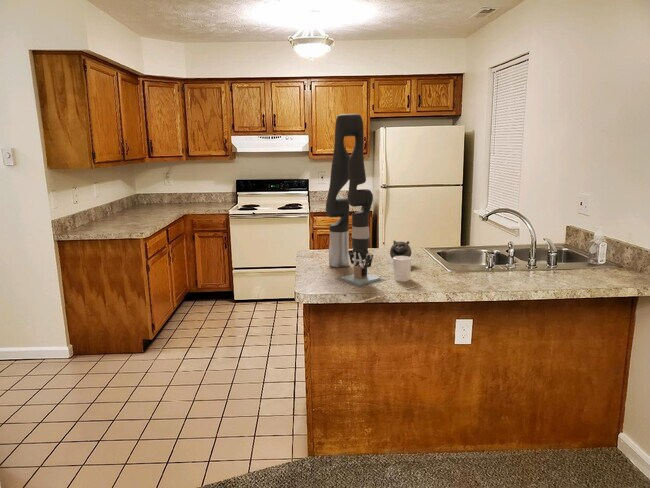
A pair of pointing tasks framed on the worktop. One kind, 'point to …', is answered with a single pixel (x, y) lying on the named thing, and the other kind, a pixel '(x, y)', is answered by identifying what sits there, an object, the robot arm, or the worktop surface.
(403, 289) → the worktop surface
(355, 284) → the mat
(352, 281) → the lid
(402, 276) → the white cup
